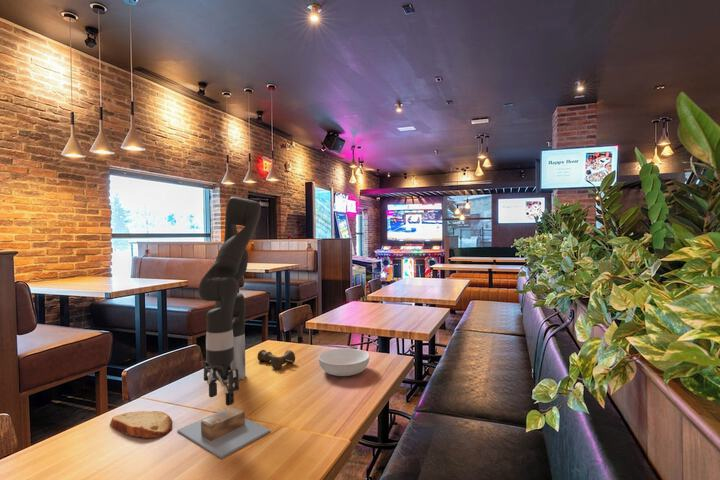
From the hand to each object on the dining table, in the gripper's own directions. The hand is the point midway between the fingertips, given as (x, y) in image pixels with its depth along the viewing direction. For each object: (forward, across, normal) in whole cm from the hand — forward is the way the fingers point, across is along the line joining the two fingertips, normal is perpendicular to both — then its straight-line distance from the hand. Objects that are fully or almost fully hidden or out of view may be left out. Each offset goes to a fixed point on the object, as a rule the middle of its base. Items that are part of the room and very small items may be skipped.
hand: (221, 400), depth 112 cm
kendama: (+10, +30, -46) cm, 56 cm away
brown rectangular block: (+9, -1, 0) cm, 9 cm away
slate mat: (+9, -1, 0) cm, 9 cm away
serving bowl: (+10, +1, -56) cm, 57 cm away
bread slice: (+10, +22, +13) cm, 28 cm away
